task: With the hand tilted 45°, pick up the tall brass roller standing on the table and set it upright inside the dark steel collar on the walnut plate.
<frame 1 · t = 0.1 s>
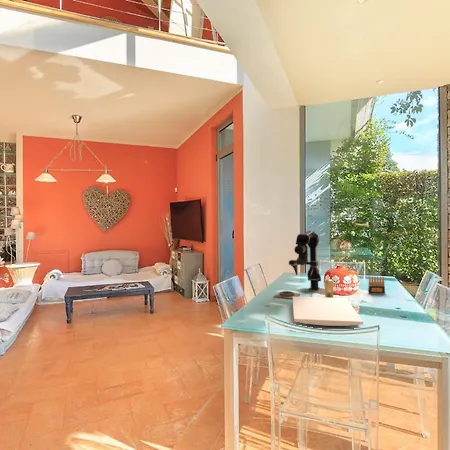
hand: (303, 275, 219), 15 cm above the table, tool pointing down, fingers open, 9 cm apart
ammunition clip: (376, 293, 227), on the table
brass roller: (329, 300, 211), on the table
collar plate: (287, 296, 224), on the table
board: (323, 316, 180), on the table
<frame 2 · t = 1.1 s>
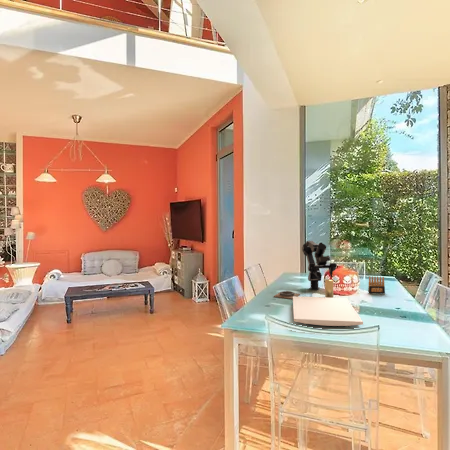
hand: (324, 277, 219), 13 cm above the table, tool tilted 45°, fingers open, 9 cm apart
nothing on the table moved.
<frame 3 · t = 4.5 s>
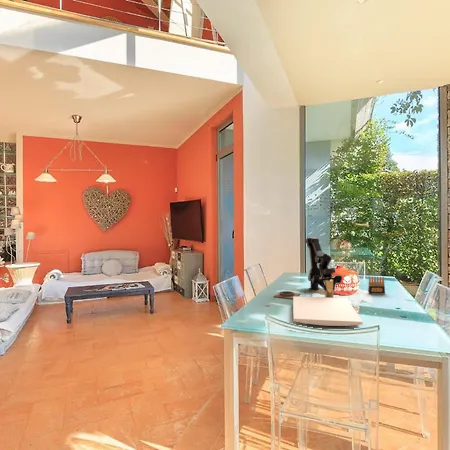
hand: (330, 290, 210), 7 cm above the table, tool tilted 45°, fingers closed on brass roller, 5 cm apart
brass roller: (329, 300, 211), on the table, touching gripper
everything else where it was.
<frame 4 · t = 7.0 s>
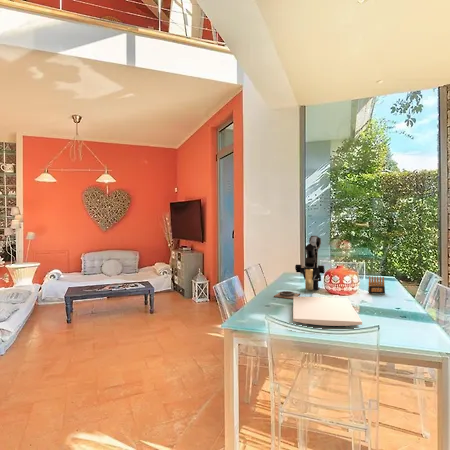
hand: (308, 279, 212), 13 cm above the table, tool tilted 45°, fingers closed on brass roller, 5 cm apart
brass roller: (309, 288, 214), point 7 cm above the table, touching gripper
everything else where it was.
when the fingers open (9 cm above the table, at t = 9.7 s): brass roller drops 1 cm, resting on collar plate.
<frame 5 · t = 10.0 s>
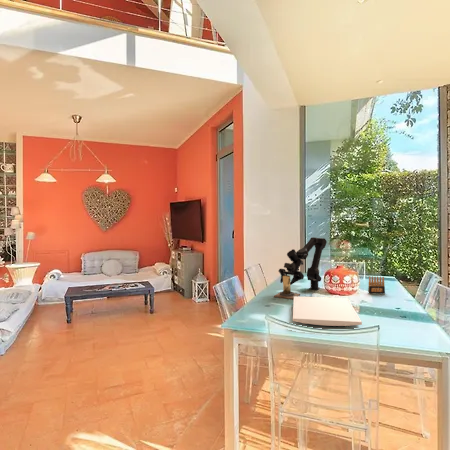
hand: (285, 283, 223), 9 cm above the table, tool tilted 45°, fingers open, 8 cm apart
brass roller: (287, 294, 224), point 1 cm above the table, touching collar plate
everything else where it was.
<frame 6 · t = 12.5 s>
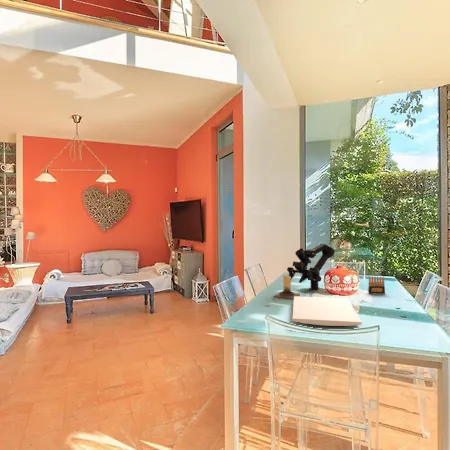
hand: (294, 281, 229), 9 cm above the table, tool tilted 45°, fingers open, 9 cm apart
nothing on the table moved.
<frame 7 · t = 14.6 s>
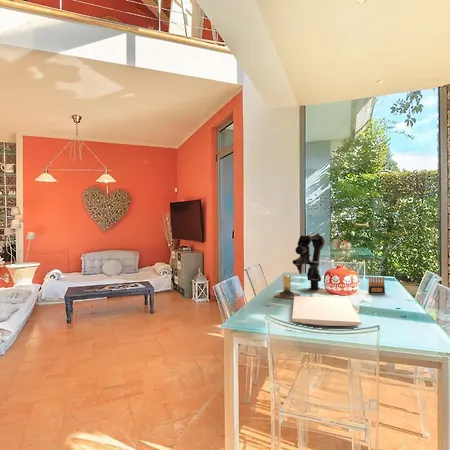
hand: (305, 274, 231), 13 cm above the table, tool pointing down, fingers open, 9 cm apart
nothing on the table moved.
at the end: brass roller 0.0 cm off-centre on the collar plate, point 0.8 cm above the collar plate's base; brass roller tilted 0°; the gripper is holding nothing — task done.
